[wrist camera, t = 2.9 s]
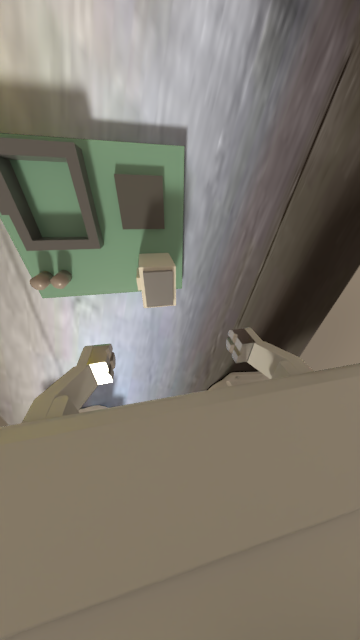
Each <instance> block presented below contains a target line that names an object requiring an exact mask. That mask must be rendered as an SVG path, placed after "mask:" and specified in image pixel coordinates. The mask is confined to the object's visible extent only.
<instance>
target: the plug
mask: <svg viewBox="0 0 360 640" xmlns="http://www.w3.org/2000/svg"><path fill="white" fill-rule="evenodd" d="M136 279H137V286H138V291H139V290H142V297H143V305H144V308H150V307H162V306H173V305H176V265H175V264H174V262H173V260H172V258H171V256H170V255H169V253H146V254H139V268H137V275H136Z"/></svg>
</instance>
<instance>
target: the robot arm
mask: <svg viewBox="0 0 360 640" xmlns="http://www.w3.org/2000/svg"><path fill="white" fill-rule="evenodd" d="M228 335H229V337H228V338H227V341H226V345H227V349H228V351H229V352H231V353H232V357H233V359H234V360H235V362H236V363H241V362H247V363H249V364H250V365H252V366H253V367H254V368H256V369H257V370H258V371H260V372H233V373H230V374H229V375H227V376H226V377H225V378H224V379H223V380H221V381H219V382H218V383H216V384H214V385H213V386H212V387H211V388H210V389H209V390H207V391H201V392H195V393H190V394H184V395H178V396H173V397H167V398H161V399H156V400H150V401H144V402H139V403H133V404H127V405H122V406H116V407H111V408H105V409H99V410H94V411H88V412H82V413H79V409H80V408H81V407H82V406H83V404H84V403H85V402H86V400H87V399H88V398H89V397H90V395H91V394H92V393H93V391H94V390H95V389H96V388H97V386H98V385H99V384H104V383H110V382H113V376H114V371H113V369H114V368H115V355H114V353H113V352H112V349H113V348H112V345H111V344H102V345H94V346H85V347H84V348H83V351H82V353H81V356H80V358H79V361H78V363H77V366H76V367H73V368H72V369H71V370H69V371H68V372H67V373H66V374H65V375H63V376H62V377H61V378H60V379H58V380H57V381H56V382H55V383H54V384H52V385H51V386H50V387H49V388H48V389H46V390H45V391H44V392H43V393H42V394H40V395H39V396H38V397H37V398H36V399H35V400H34V401H33V403H32V405H31V407H30V409H29V411H28V412H27V414H26V416H25V418H24V420H23V422H22V423H20V424H15V425H9V426H4V427H0V640H360V363H359V364H353V365H347V366H342V367H336V368H331V369H325V370H319V371H313V370H312V369H311V368H310V367H309V366H308V365H307V364H306V363H305V362H304V361H303V360H302V359H300V358H299V357H297V356H295V355H293V354H291V353H289V352H287V351H284V350H282V349H280V348H278V347H276V346H274V345H272V344H269V343H267V342H263V341H262V340H261V339H260V338H259V336H258V335H257V334H256V333H255V332H254V331H253V330H252V329H251V328H243V329H234V330H230V331H229V333H228Z"/></svg>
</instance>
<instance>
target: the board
mask: <svg viewBox="0 0 360 640" xmlns="http://www.w3.org/2000/svg"><path fill="white" fill-rule="evenodd" d="M183 198H184V146H174V145H160V144H146V143H132V142H118V141H104V140H90V139H75V138H61V137H47V136H33V135H19V134H5V133H0V218H1V220H2V222H3V224H4V226H5V227H6V229H7V231H8V233H9V235H10V237H11V239H12V241H13V243H14V245H15V247H16V248H17V250H18V252H19V254H20V256H21V258H22V260H23V262H24V264H25V266H26V267H27V269H28V271H29V273H30V275H31V277H32V279H31V280H30V284H31V286H32V287H33V288H35V289H37V290H39V292H40V294H41V296H42V298H54V297H68V296H82V295H96V294H110V293H124V292H138V286H137V279H136V275H137V268H139V254H146V253H169V255H170V256H171V258H172V260H173V262H174V264H175V265H176V289H180V288H182V252H183ZM139 291H142V290H139Z"/></svg>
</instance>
